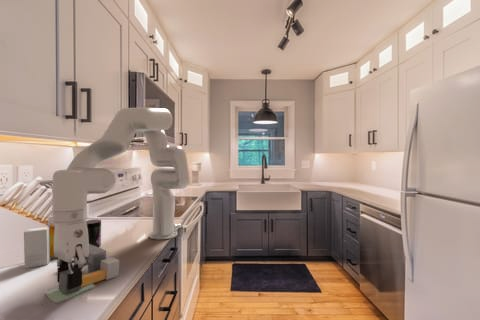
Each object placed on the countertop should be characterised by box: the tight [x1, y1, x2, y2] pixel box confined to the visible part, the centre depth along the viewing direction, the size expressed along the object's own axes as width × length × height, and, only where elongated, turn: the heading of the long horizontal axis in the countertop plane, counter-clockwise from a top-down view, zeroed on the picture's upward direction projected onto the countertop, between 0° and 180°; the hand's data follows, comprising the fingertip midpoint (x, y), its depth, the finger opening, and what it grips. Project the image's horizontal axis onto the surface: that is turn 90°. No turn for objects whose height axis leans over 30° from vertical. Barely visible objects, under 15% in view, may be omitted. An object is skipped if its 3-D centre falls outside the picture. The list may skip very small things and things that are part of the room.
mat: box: [44, 283, 96, 304], centre depth 64 cm, size 9×7×1 cm
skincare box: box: [23, 226, 51, 269], centre depth 80 cm, size 6×4×12 cm
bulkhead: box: [72, 244, 107, 274], centre depth 78 cm, size 4×13×6 cm, turn 57°
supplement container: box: [86, 219, 102, 248], centre depth 96 cm, size 7×7×10 cm
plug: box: [57, 257, 120, 294], centre depth 68 cm, size 14×4×5 cm, turn 147°
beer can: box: [47, 214, 57, 260], centre depth 87 cm, size 6×6×15 cm
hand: (69, 283), depth 63 cm, fingers open, 5 cm apart
